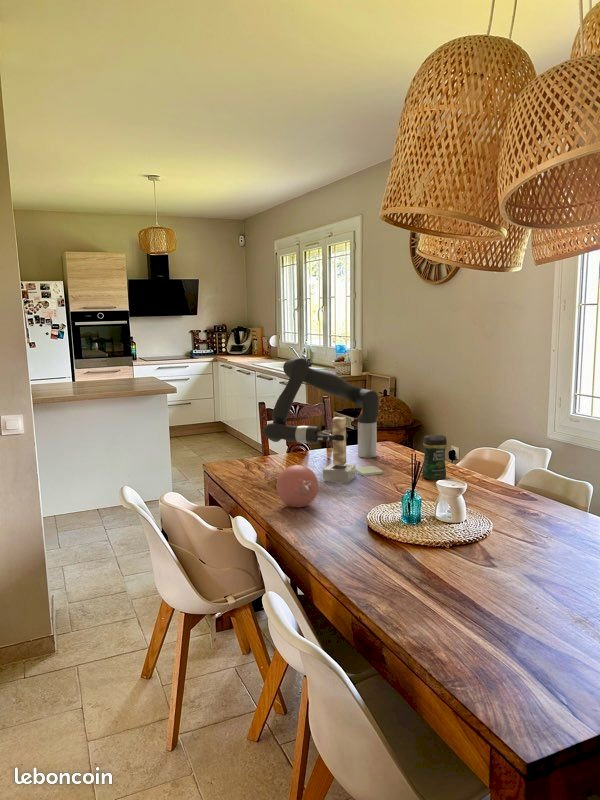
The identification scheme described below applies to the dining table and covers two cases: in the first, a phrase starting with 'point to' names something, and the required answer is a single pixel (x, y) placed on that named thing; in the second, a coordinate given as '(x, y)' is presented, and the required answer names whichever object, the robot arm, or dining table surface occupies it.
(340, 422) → the beech peg
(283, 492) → the pink rubber ball
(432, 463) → the coffee jar
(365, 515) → the dining table surface
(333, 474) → the block
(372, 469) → the sage mat
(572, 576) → the dining table surface
